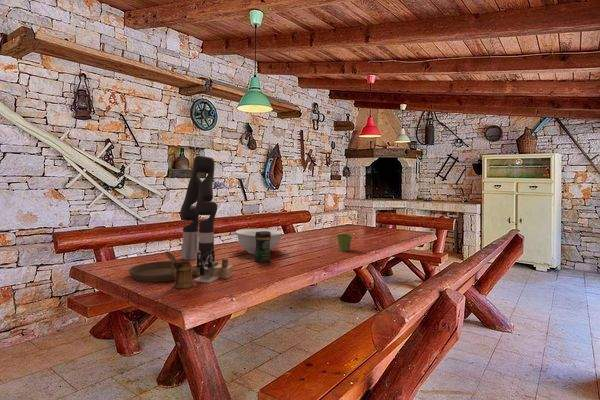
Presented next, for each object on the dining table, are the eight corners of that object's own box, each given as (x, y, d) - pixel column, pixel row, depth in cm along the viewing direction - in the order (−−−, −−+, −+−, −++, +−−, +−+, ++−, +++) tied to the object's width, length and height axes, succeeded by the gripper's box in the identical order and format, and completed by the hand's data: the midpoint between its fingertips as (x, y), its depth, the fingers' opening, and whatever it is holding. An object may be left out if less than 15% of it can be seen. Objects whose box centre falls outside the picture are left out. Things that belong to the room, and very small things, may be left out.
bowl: (291, 251, 264) (291, 231, 263) (262, 259, 236) (263, 236, 235) (255, 246, 281) (255, 226, 280) (225, 253, 254) (225, 231, 253)
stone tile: (193, 281, 185) (193, 279, 185) (202, 276, 193) (202, 275, 193) (210, 282, 183) (210, 281, 183) (218, 278, 191) (218, 276, 191)
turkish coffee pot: (160, 287, 173) (160, 249, 172) (187, 282, 183) (187, 245, 182) (170, 292, 167) (170, 252, 166) (197, 286, 177) (197, 248, 176)
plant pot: (341, 248, 279) (341, 233, 279) (355, 250, 272) (355, 235, 272) (332, 250, 270) (333, 235, 269) (347, 253, 263) (347, 237, 262)
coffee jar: (258, 263, 227) (259, 232, 226) (252, 260, 233) (253, 230, 232) (272, 261, 232) (273, 231, 231) (266, 258, 239) (266, 229, 238)
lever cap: (199, 278, 187) (200, 268, 186) (203, 276, 191) (203, 266, 190) (209, 279, 186) (209, 269, 185) (212, 277, 190) (212, 267, 189)
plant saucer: (118, 275, 194) (118, 266, 194) (173, 265, 217) (173, 257, 217) (146, 288, 173) (146, 278, 173) (203, 276, 196) (204, 267, 196)
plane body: (191, 275, 196) (192, 252, 195) (198, 272, 203) (198, 250, 202) (227, 278, 191) (227, 255, 191) (232, 274, 198) (233, 252, 197)
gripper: (206, 238, 194) (205, 269, 195) (192, 242, 181) (191, 276, 181) (219, 239, 193) (219, 270, 194) (206, 243, 179) (206, 277, 180)
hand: (206, 273), depth 188 cm, fingers open, 8 cm apart
